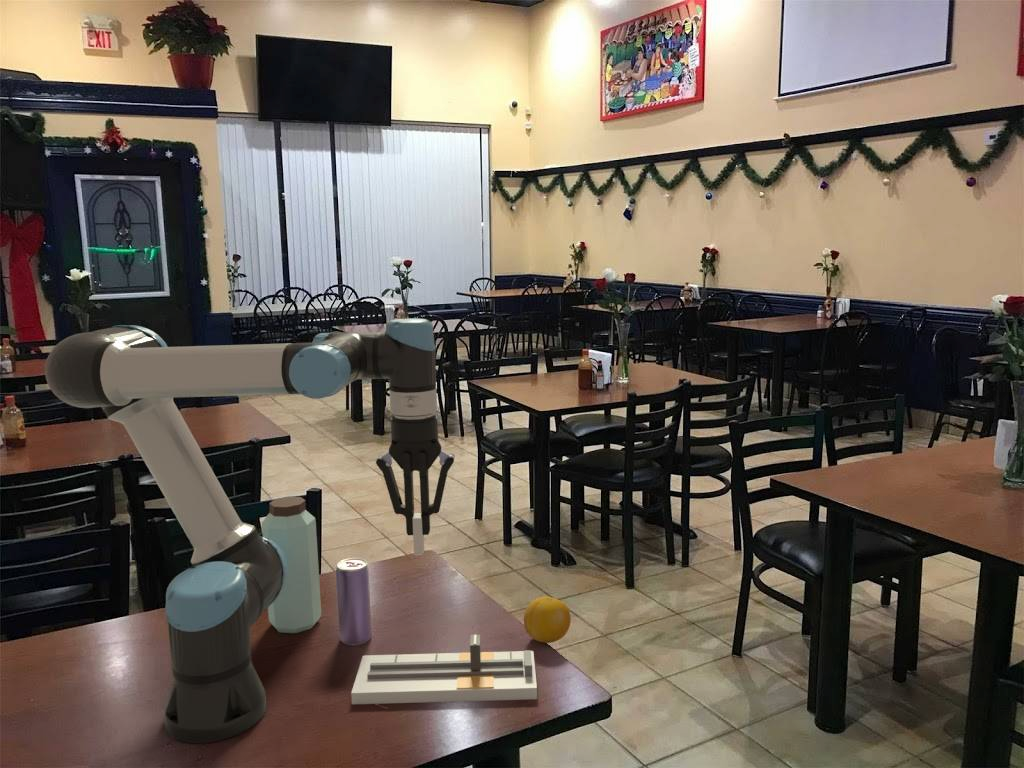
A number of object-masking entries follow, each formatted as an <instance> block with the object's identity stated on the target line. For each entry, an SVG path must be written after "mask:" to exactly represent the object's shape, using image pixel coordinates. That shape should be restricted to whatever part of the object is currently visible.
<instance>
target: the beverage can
mask: <svg viewBox="0 0 1024 768" xmlns="http://www.w3.org/2000/svg"><path fill="white" fill-rule="evenodd" d="M369 569H370V568H369V566H368V561H367V560H365V559H363V558H360V557H358V558H357V557H352V558H351V557H350V558H346V559H343V560H340V561H339V562H337V564H336V569H335V575H336V576H335V578H336V595H337V598H336V599H337V614H338V628H339V629H338V632H339V639H340V641H341V642H342V643H343V644H344V645H346V646H352V647H354V646H361V645H364V644H366V643H367V642H368V641H370V639H371V638H372V636H373V633H372V632H373V630H372V629H373V628H372V609H371V608H372V607H371V589H370V587H371V586H370V570H369Z"/></svg>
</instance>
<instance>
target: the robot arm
mask: <svg viewBox="0 0 1024 768" xmlns="http://www.w3.org/2000/svg"><path fill="white" fill-rule="evenodd" d="M434 335H435V333H434V326H433V323H432V322H431V321H430V320H428V319H426V318H417V317H416V318H411V317H410V318H396V319H395V318H394V319H391V320H388V322H387V323H386V328H385V331H381V332H380V331H379V332H341V331H333V332H332V331H331V332H321V333H318V334H316V335H315V336H314V337H313V340H312V342H295V343H268V344H267V343H263V344H262V343H261V344H259V343H257V344H230V345H229V344H226V345H194V346H192V345H191V346H168V345H167V343H166V342H165V341H164V339H163V338H162V337H161V336H160V335H159V334H157V333H156V332H155V331H153V330H151V329H149V328H146V327H144V326H140V325H131V324H130V325H129V324H128V325H127V324H125V325H123V324H120V325H113V326H111V327H108V328H102V329H97V330H94V331H88V332H80V333H76V334H73V335H70V336H68V337H65V338H64V339H63V340H61V341H59V342H58V343H57V344H56V345H55V346H54V347H53V348H52V350H51V351H49V352H50V353H49V354H48V357H47V358H46V361H45V367H44V368H45V369H44V375H45V380H46V383H47V385H48V387H49V389H50V390H51V391H52V393H53V395H55V397H57V398H58V399H59V400H60V401H62V402H64V404H67V405H69V406H72V407H76V408H82V409H91V408H92V409H93V408H101V409H102V410H103V412H104V414H105V416H106V417H107V419H108V420H109V421H113V422H116V423H120V424H121V425H123V427H124V428H125V430H126V432H127V433H128V435H129V437H130V439H131V440H132V442H133V443H134V446H135V447H136V449H137V451H138V453H139V454H140V457H141V459H142V460H143V462H144V464H145V465H146V467H147V468H148V470H149V472H150V474H151V475H152V477H153V479H154V481H155V483H156V484H157V486H158V488H159V489H160V491H161V493H162V495H163V496H164V498H165V501H166V502H167V504H168V505H169V507H170V509H171V510H172V512H173V514H174V515H175V517H176V520H177V521H178V523H179V524H180V526H181V528H182V529H183V531H184V533H185V535H186V537H187V538H188V540H189V542H190V544H191V546H192V547H193V553H192V556H191V559H190V563H191V564H192V566H193V568H191V567H190V568H187V569H185V570H183V571H182V572H180V573H179V574H177V575H176V576H175V577H174V578H173V579H172V580H171V582H170V583H169V584H168V587H167V588H166V592H165V607H164V608H165V610H164V612H165V613H164V614H165V617H166V621H167V623H166V624H167V630H168V640H169V650H170V658H171V668H172V681H171V685H170V689H169V692H168V696H167V700H166V704H165V708H164V725H165V731H166V733H167V734H168V736H170V737H171V738H173V740H174V739H175V740H177V741H179V742H183V743H188V744H205V743H207V744H208V743H214V742H218V741H222V740H226V739H230V738H232V737H233V738H234V737H235V736H237V735H240V734H241V733H244V732H246V731H247V730H249V729H250V728H252V727H254V726H255V725H256V724H257V723H258V722H259V721H260V720H261V719H262V718H263V717H264V715H265V713H266V710H267V696H266V690H265V688H264V686H263V683H262V681H261V679H260V677H259V675H258V673H257V670H256V668H255V666H254V664H253V662H252V649H251V637H250V631H251V627H252V626H253V625H254V624H255V622H257V620H258V619H259V618H260V617H261V616H262V614H263V613H264V612H265V611H266V610H268V606H270V605H271V604H272V603H273V602H274V601H275V600H276V599H277V597H278V595H279V594H280V592H281V590H282V588H283V586H284V584H285V581H286V578H287V562H286V559H285V556H284V554H283V552H282V550H281V549H280V548H279V547H278V545H277V544H275V543H274V542H273V541H271V540H267V539H266V538H265V537H263V536H261V535H260V533H259V531H258V530H257V527H256V526H255V525H252V524H251V523H250V524H249V523H246V522H243V521H242V520H241V518H240V516H239V515H238V513H237V512H236V510H235V508H234V506H233V504H232V502H231V501H230V499H229V497H228V496H227V494H226V492H225V490H224V489H223V486H222V485H221V483H220V481H219V480H218V477H217V476H216V475H215V473H214V471H213V469H212V467H211V465H210V464H209V462H208V460H207V458H206V457H205V454H204V453H203V451H202V450H201V448H200V446H199V444H198V442H197V440H196V439H195V437H194V435H193V434H192V432H191V430H190V428H189V427H188V424H187V423H186V421H185V419H184V417H183V416H182V414H181V413H180V410H179V409H178V406H177V405H176V404H175V402H174V398H196V397H197V398H200V397H203V398H204V397H207V398H208V397H235V396H236V397H237V396H238V397H239V396H243V397H244V396H268V395H269V396H271V395H272V396H273V395H275V396H277V395H301V396H303V397H305V398H309V399H314V400H320V399H323V398H324V399H325V398H328V397H329V398H330V397H332V396H334V395H337V394H338V393H339V392H341V390H343V389H344V388H345V387H347V386H348V385H350V384H352V383H353V382H354V381H356V380H368V379H369V380H375V379H378V380H384V379H387V380H388V384H389V385H388V387H389V407H390V408H389V412H390V413H391V414H392V417H391V418H390V433H391V442H390V446H389V448H388V451H387V452H386V453H384V454H380V455H379V456H377V459H376V461H375V464H376V466H377V467H378V468H379V470H380V471H381V472H382V475H383V478H384V482H385V485H386V489H387V491H388V496H389V498H390V502H391V505H392V509H393V511H394V514H396V515H402V516H404V518H405V529H406V530H405V531H406V534H407V536H412V538H413V540H412V541H413V557H423V556H424V554H425V553H424V552H425V536H426V535H427V536H429V534H430V531H431V517H430V516H431V515H434V514H438V513H439V512H440V509H441V505H442V501H443V500H442V499H443V496H444V490H445V487H446V483H447V482H446V481H447V477H448V471H449V470H450V469H451V467H452V466H453V464H454V462H455V455H454V454H453V453H448V452H447V451H445V450H443V449H442V445H441V443H440V441H439V434H438V433H439V432H438V431H439V429H438V427H439V425H438V416H437V415H436V412H437V411H438V401H437V398H438V397H437V380H436V379H437V378H436V377H437V375H436V373H437V372H436V344H435V336H434ZM438 457H439V461H438V462H439V463H438V464H439V465H440V466H441V467H440V471H439V476H438V481H437V486H436V490H435V495H434V499H433V503H431V504H430V482H429V470H430V468H431V467H432V466H433V464H434V463H435V461H436V460H437V459H438ZM392 459H393V460H392ZM393 461H395V463H396V464H397V465H398V467H400V469H402V471H403V473H402V474H403V486H404V487H403V488H404V490H403V491H404V504H403V500H402V497H401V493H400V491H399V487H398V483H397V480H396V477H395V473H394V470H393V466H392V464H393ZM415 471H417V472H418V473H419V475H418V476H419V490H420V491H419V492H420V512H415V501H414V500H415V497H414V493H415V492H414V472H415Z"/></svg>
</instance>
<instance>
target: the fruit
mask: <svg viewBox="0 0 1024 768" xmlns="http://www.w3.org/2000/svg"><path fill="white" fill-rule="evenodd" d="M571 620H572V619H571V613H570V609H569V607H568V606H567V604H565V602H563V601H561V600H560V599H558V598H555V597H552V596H546V595H545V596H544V595H543V596H540V597H537V598H535V599H533V600H532V601H531V602H530V603H529V604H528V606H527V607H526V608H525V611H524V614H523V625H524V628H525V630H526V631H525V632H526V633H527V634H528V635H529V636H530V637H531V638H532V639H533V640H535V641H537V642H539V643H546V644H548V643H555V642H557V641H559V640H561V639H562V638H564V636H565V635H566V634H567V632H568V631H569V629H570V626H571Z"/></svg>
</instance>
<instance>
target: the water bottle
mask: <svg viewBox="0 0 1024 768" xmlns="http://www.w3.org/2000/svg"><path fill="white" fill-rule="evenodd" d="M268 506H269V509H268V510H269V513H268V514H267V515H266V516H265V518H264V519H263V521H261V530H262V531H261V532H262V534H261V535H262V537H265V538H266V539H267V540H271V541H273V542H274V543H275V544H277V545H278V547H279V548H280V549H281V550H282V552H283V554H284V556H285V559H286V562H287V578H286V581H285V584H284V586H283V588H282V590H281V592H280V594H279V595H278V597H277V599H276V600H275V601H274V602H273V603H272V604H271V605H270V606H268V608H267V613H268V621H269V623H270V624H271V625H272V626H273V628H275V629H276V630H277V632H278V633H285V634H297V633H301V632H304V631H307V630H311V629H312V628H314V626H315V625H316V623H317V622H318V621H319V619H320V618H321V616H322V603H321V587H320V586H321V585H320V583H321V582H320V574H319V573H320V572H319V571H320V569H319V555H318V553H319V552H318V551H319V550H318V537H317V522H316V517H315V516H314V515H312V514H311V513H310V512H309V511H307V509H306V499H304V498H303V497H301V496H284V497H279V498H274V499H273V500H272V501H270V502H269V505H268Z"/></svg>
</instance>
